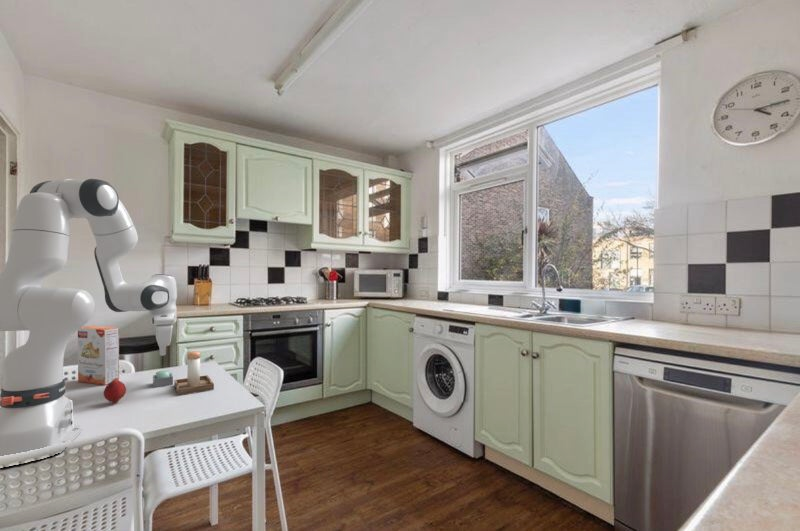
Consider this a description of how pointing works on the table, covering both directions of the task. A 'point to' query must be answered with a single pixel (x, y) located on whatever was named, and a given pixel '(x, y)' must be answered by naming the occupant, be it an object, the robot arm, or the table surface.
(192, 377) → the white bottle
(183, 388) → the tray
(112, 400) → the onion
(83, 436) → the table surface
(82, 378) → the cracker box
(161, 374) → the button
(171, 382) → the button housing
